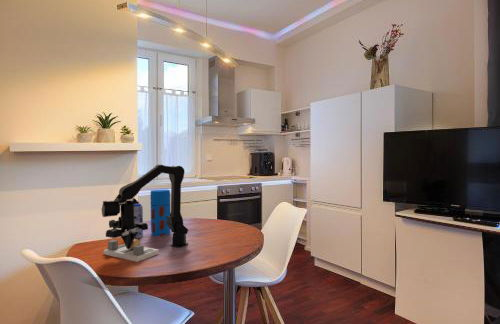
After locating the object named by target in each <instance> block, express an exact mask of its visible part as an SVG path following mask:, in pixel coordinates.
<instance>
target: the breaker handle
mask: <svg viewBox="0 0 500 324" xmlns="http://www.w3.org/2000/svg"><path fill="white" fill-rule="evenodd" d="M136 245H140V240H139V239H138V238H134V240H133V243H132V245H131V247H130V248H131V249H133V246H136Z"/></svg>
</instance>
